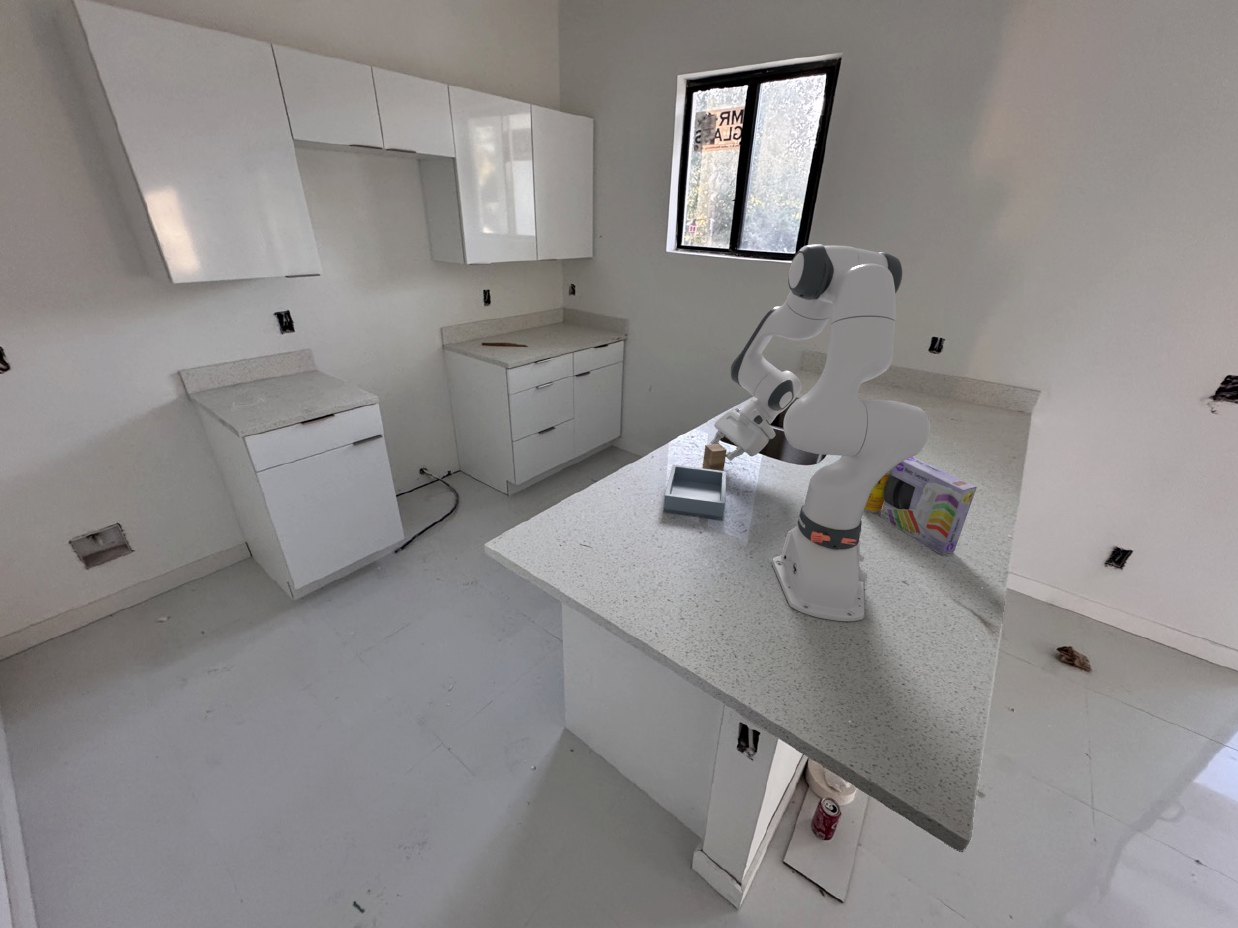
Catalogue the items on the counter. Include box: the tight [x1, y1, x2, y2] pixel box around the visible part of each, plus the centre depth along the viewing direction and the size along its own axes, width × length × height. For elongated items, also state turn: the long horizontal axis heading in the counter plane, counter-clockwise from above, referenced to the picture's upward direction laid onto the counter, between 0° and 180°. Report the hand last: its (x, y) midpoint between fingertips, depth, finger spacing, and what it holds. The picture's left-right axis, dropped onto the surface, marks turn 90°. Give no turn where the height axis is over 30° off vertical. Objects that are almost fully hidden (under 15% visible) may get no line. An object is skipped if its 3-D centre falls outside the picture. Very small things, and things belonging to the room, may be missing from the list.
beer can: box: [864, 468, 893, 514], centre depth 130 cm, size 6×6×15 cm
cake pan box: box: [879, 456, 978, 556], centre depth 119 cm, size 19×5×18 cm, turn 21°
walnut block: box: [702, 443, 728, 471], centre depth 147 cm, size 5×5×8 cm
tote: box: [662, 464, 727, 521], centre depth 133 cm, size 18×15×5 cm
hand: (720, 451), depth 147 cm, fingers open, 8 cm apart
